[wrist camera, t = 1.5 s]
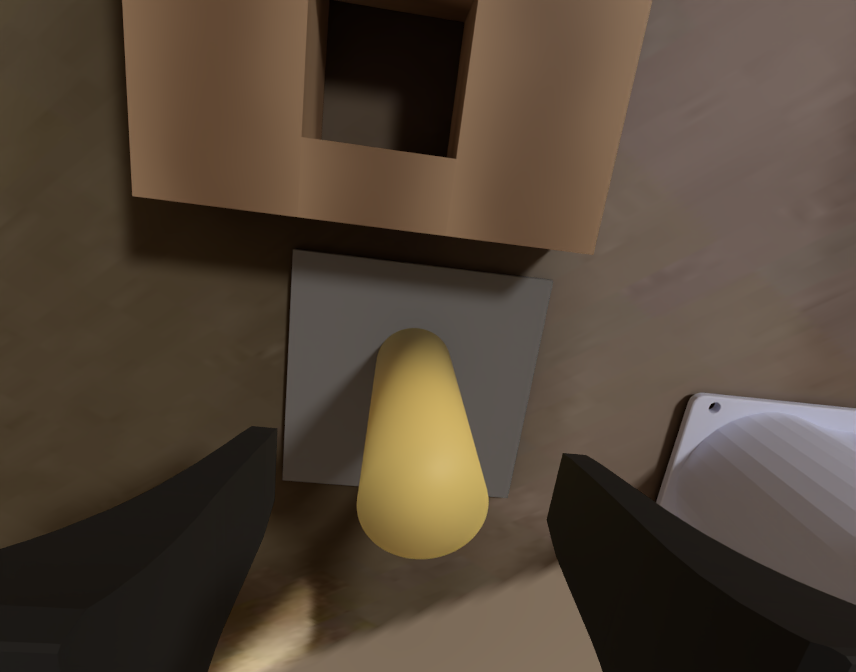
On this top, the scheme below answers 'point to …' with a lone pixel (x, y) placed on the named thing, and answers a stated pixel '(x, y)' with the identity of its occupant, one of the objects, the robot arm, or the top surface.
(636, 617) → the robot arm
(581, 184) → the walnut block
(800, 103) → the top surface
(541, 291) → the mat
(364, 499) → the peg
